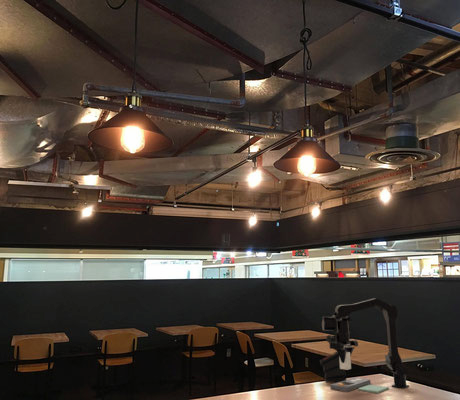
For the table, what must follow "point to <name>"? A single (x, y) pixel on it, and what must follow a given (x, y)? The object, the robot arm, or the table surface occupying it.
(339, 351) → the robot arm
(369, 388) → the green mat
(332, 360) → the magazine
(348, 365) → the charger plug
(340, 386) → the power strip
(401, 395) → the table surface
